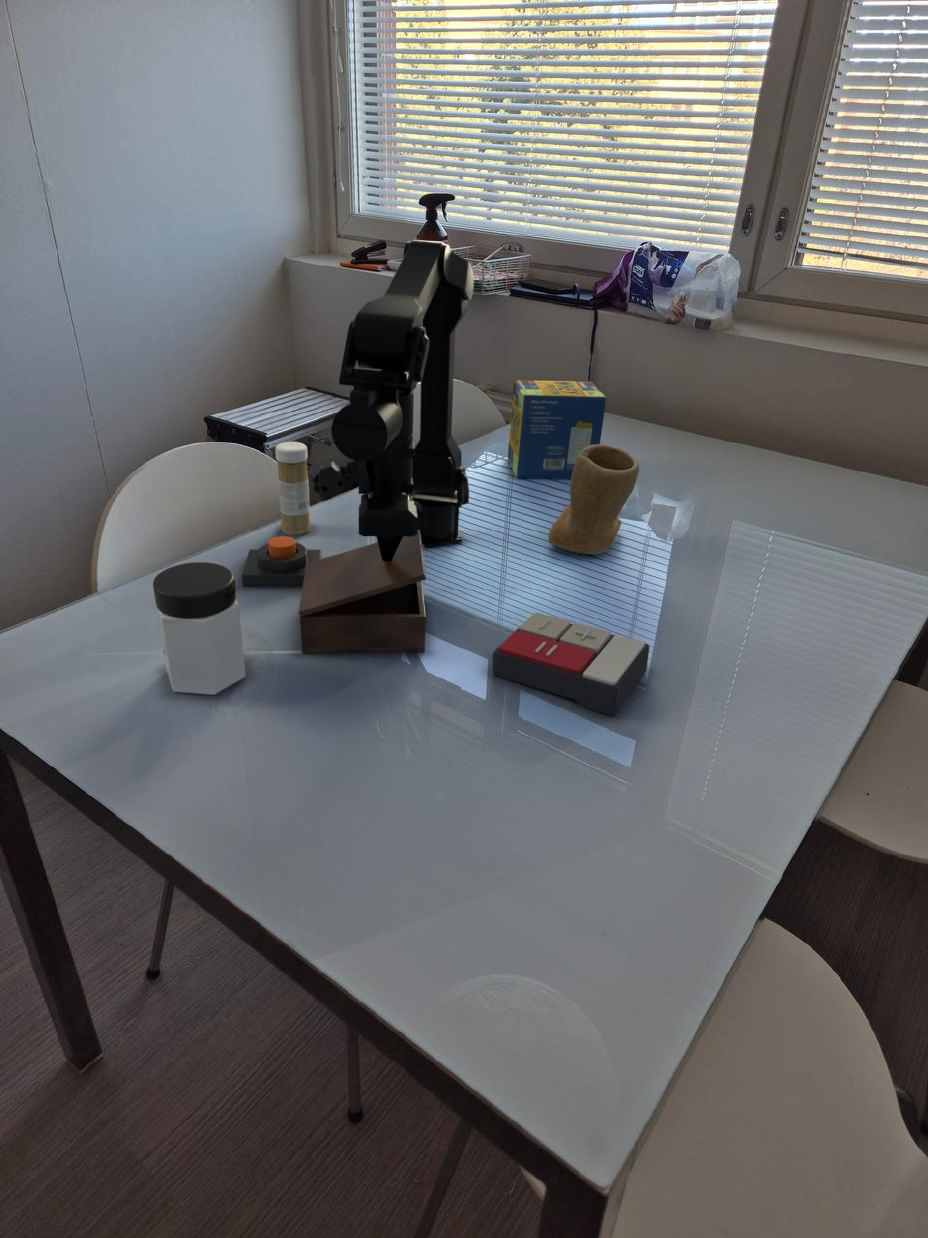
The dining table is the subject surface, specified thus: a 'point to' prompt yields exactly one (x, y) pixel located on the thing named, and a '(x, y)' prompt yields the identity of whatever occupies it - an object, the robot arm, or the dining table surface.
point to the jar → (199, 627)
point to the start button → (281, 547)
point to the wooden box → (369, 624)
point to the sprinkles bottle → (293, 487)
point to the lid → (360, 575)
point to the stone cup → (595, 500)
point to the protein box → (553, 426)
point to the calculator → (573, 661)
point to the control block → (277, 567)
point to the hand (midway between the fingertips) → (386, 560)
